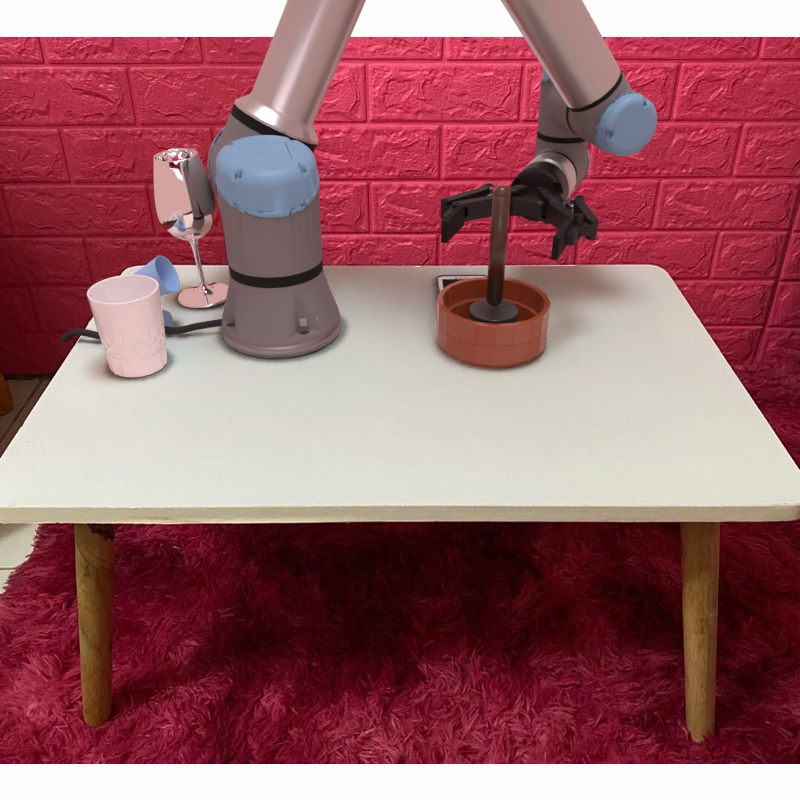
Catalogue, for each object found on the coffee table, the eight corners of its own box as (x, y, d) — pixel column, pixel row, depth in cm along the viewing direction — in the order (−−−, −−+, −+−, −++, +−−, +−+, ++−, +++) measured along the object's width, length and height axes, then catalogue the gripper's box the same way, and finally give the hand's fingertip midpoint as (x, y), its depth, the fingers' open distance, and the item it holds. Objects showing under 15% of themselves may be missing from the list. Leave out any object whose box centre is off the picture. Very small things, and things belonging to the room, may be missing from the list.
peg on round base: (464, 346, 96) (472, 191, 85) (471, 324, 101) (479, 175, 90) (513, 351, 95) (527, 195, 84) (517, 329, 99) (531, 179, 89)
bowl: (426, 363, 94) (427, 319, 90) (446, 313, 105) (447, 272, 102) (541, 376, 91) (546, 331, 88) (548, 323, 102) (553, 282, 99)
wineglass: (192, 315, 104) (159, 168, 93) (168, 295, 110) (134, 155, 98) (243, 296, 108) (217, 154, 97) (217, 278, 113) (189, 141, 102)
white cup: (154, 384, 90) (138, 306, 84) (92, 377, 91) (72, 300, 86) (183, 351, 96) (170, 277, 91) (125, 345, 97) (109, 271, 92)
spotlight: (190, 320, 103) (139, 319, 104) (178, 249, 98) (125, 248, 98) (179, 337, 99) (127, 336, 99) (167, 265, 94) (111, 264, 94)
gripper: (629, 225, 105) (600, 286, 89) (457, 202, 113) (400, 254, 97) (639, 170, 101) (609, 223, 85) (459, 150, 109) (400, 195, 93)
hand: (498, 240), depth 91 cm, fingers open, 13 cm apart
